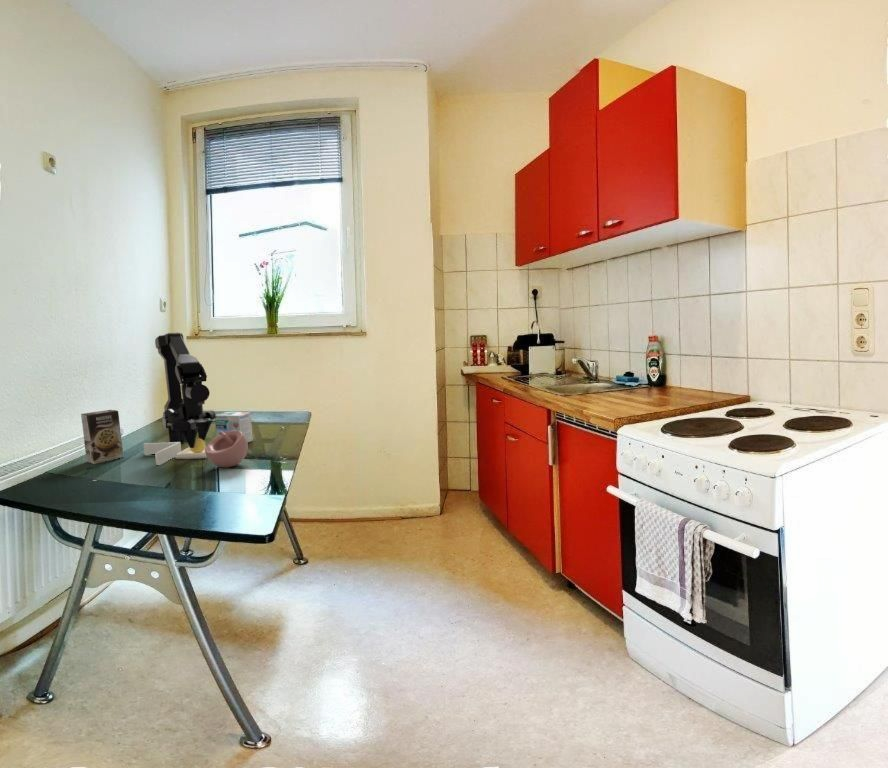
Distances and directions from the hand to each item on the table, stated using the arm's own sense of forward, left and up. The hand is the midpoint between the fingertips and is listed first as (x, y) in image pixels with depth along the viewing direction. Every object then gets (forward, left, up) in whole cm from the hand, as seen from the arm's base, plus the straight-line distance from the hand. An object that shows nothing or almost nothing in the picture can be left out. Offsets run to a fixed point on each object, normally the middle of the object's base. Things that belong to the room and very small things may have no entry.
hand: (197, 445), depth 174 cm
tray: (0, 0, -3) cm, 3 cm away
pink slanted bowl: (+16, +17, -3) cm, 24 cm away
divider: (+5, -13, -3) cm, 14 cm away
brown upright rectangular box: (+2, -30, -3) cm, 30 cm away
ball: (0, 0, -3) cm, 3 cm away
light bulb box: (-16, +6, -4) cm, 17 cm away
